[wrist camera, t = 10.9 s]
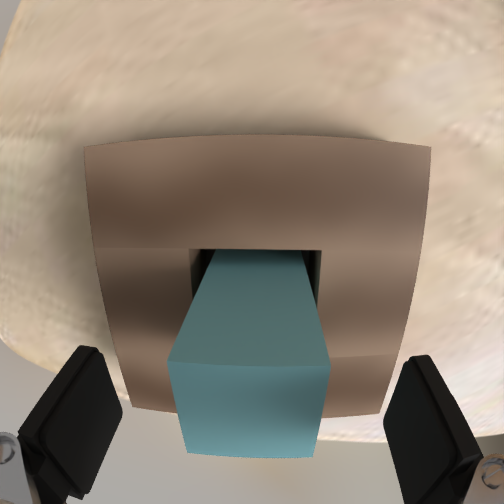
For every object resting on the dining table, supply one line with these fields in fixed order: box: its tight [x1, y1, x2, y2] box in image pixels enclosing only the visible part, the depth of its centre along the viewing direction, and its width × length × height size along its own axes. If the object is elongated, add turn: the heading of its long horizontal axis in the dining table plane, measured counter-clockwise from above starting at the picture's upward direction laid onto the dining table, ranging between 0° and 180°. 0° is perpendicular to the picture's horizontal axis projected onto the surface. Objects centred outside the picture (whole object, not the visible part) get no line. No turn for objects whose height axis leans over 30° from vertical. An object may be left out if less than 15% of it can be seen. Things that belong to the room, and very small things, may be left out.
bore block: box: [84, 134, 431, 418], centre depth 18 cm, size 16×16×5 cm
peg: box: [167, 249, 331, 458], centre depth 14 cm, size 4×4×11 cm
